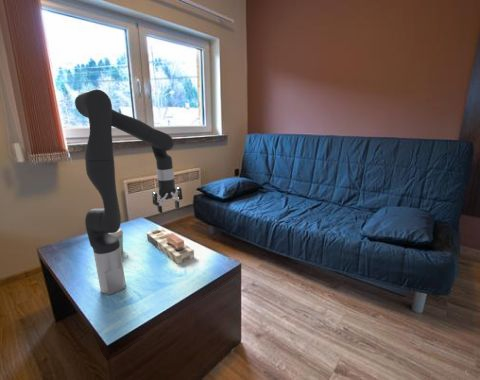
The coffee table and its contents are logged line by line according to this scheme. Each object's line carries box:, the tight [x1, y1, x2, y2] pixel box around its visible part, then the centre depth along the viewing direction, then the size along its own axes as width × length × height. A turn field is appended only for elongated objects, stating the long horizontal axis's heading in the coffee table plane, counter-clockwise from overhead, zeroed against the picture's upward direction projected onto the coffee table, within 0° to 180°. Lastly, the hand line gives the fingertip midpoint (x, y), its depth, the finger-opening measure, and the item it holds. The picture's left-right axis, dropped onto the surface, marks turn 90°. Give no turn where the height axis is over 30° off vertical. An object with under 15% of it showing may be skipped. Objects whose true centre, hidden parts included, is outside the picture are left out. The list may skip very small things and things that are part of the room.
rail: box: [146, 228, 195, 265], centre depth 136 cm, size 36×9×4 cm, turn 41°
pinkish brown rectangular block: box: [166, 232, 185, 252], centre depth 130 cm, size 12×4×8 cm, turn 41°
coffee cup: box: [108, 227, 124, 253], centre depth 132 cm, size 8×8×12 cm
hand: (169, 210), depth 126 cm, fingers open, 8 cm apart
